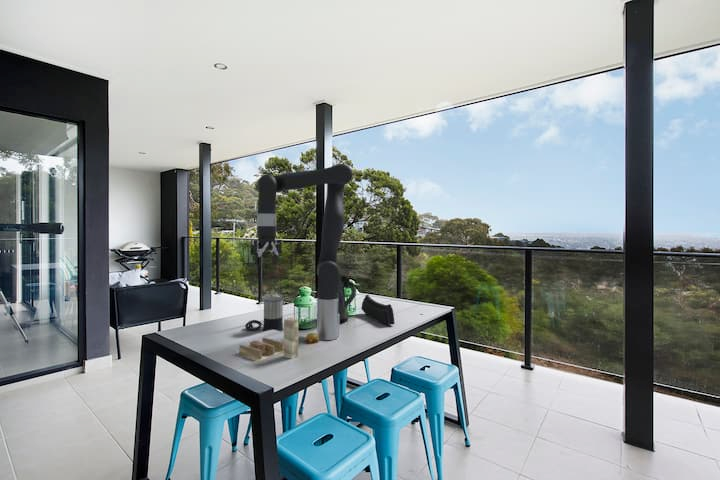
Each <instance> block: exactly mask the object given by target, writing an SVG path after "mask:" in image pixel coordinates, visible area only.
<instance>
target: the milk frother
mask: <svg viewBox="0 0 720 480" xmlns="http://www.w3.org/2000/svg"><path fill="white" fill-rule="evenodd" d="M262 300H263V322H261V321H259V320H257V319H253V320H249V321H248V322H246V323H245V326H244V328H245V330H247V331H258V330H260V329H261V328H262V332H267V331H270V330H275V331H278V332H282V331H284V319H283V317H284V315H283V314H284V313H283V312H284V311H283V310H284V309H283V307H284V304H283V301H284V297H281V296H270V297H269V296H267V297H264V298H263V299H262ZM253 324H257V325H258V326H257V327H254V325H253Z"/></svg>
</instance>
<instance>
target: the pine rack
mask: <svg viewBox="0 0 720 480" xmlns="http://www.w3.org/2000/svg"><path fill="white" fill-rule="evenodd" d="M254 341H256V340H252V342H254ZM261 342H263V343H265V344H266V347H265V350H267V354H265V355H262V350H259V349H256V348H252V347H249V346H250V345H244V344H243V343H242V344H239V352H237V353H236V355H238V356H240V357H243V358H246V359H249V360H253V361H256V362H259V361H262V360H264V359H267V358H269V357H270V358H271V357H273V356H275V355H278V354H280V353H284V341H278V340H276V339H275V340H274V339H270V338H267V337H261Z"/></svg>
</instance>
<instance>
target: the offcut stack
mask: <svg viewBox="0 0 720 480" xmlns="http://www.w3.org/2000/svg"><path fill="white" fill-rule="evenodd" d="M253 341H254V340H253ZM253 341H251V342H249V345H248V346H249V347H252V348H256V349H259V350H262V355H265V354H267V350H265V347H266V344H265V343H263V342H262V341H259V340H255V341H254V342H253Z"/></svg>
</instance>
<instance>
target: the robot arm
mask: <svg viewBox="0 0 720 480" xmlns="http://www.w3.org/2000/svg"><path fill="white" fill-rule="evenodd" d="M353 174H354V171H353V170H352V168H351V167H350V166H349V165H348V164H346V163H337V164H335V165H333V166H330V167H326V168H320V169H313V170H302V171H292V172H284V173H282V174H278V175H272V174H262V176H260V177H259V179H258V180H257V182H256V188H257V189H258V201H257V218H256V237H257V239H251V241H250V251H249V254H250V256H253V257H254V265H255V266H256V267H257V268H258V267H261V266H262V261H261V259H262V258H261V256H262V254H263V253H264V252H266V251H269V252H270V253H271V255H272V256H271V264H272V265H273V266H277V265H278V263H279V262H278V259H279V255H282V254H283V248H282V240H281V239H280V238H279V239H276V237H277V215H276V212H277V210H276V207H277V204H276V199H277V193H278V192H282V191H292V190H299V189H306V188H310V187H316V186H320V185H327V186H326V187H327V188H326V200H325V204H324V211H323V219H322V225H321V226H322V227H321V248H320V255H319V258H318V263H317V267H316V275H317V277H318V279H317V280H318V282H317V285H318V287H317V292H316V293H317V294H316V296H317V297H316V304H317V305H316V334H317V335H318V338H319V341H320V340H321V341H333V340H336V339H338V338H339V336H340V324H339V319H340V315H339V314H338V299H339V290H340V274H341V271H340V270H341V269H340V267H339V265H338V264H337V260H338V250H339V246H340V243H341V240H342V236H343V233H344V227H345V208H344V200H343V199H344V198H343V197H344V191H345V186H346V185H347V184H349V183H350V182H351V181H352V179H353Z"/></svg>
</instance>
